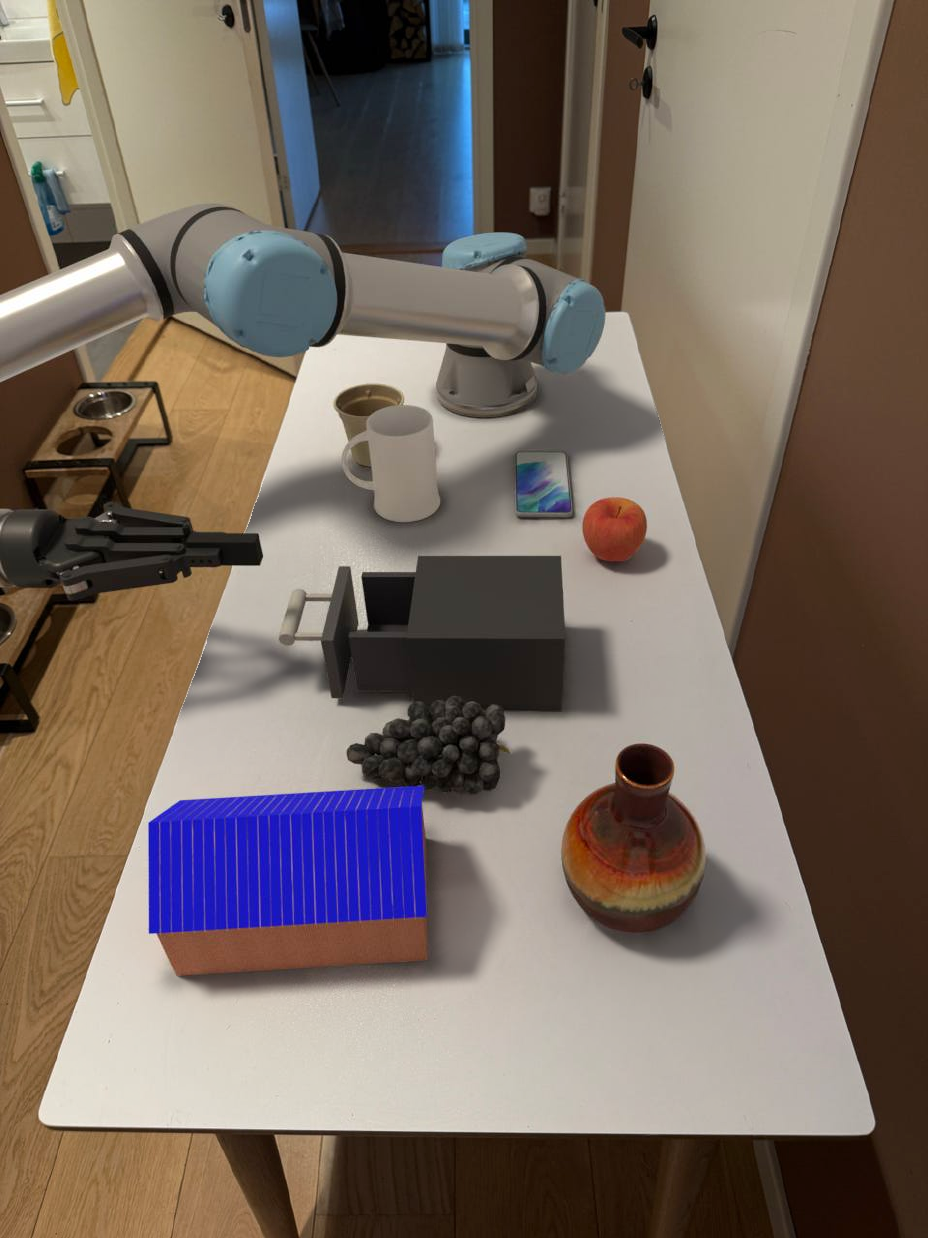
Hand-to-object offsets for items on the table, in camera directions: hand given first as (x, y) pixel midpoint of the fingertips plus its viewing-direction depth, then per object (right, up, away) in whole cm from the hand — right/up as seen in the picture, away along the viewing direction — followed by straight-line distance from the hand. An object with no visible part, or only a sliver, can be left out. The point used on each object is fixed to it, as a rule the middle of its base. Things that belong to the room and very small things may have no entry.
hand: (258, 549), depth 87 cm
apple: (+37, +1, +22) cm, 43 cm away
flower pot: (+7, +16, +41) cm, 45 cm away
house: (+7, -30, -12) cm, 33 cm away
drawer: (+11, -11, +9) cm, 18 cm away
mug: (+10, +8, +32) cm, 35 cm away
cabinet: (+22, -11, +9) cm, 26 cm away
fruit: (+16, -21, -2) cm, 26 cm away
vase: (+33, -29, -12) cm, 45 cm away
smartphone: (+30, +11, +34) cm, 46 cm away
